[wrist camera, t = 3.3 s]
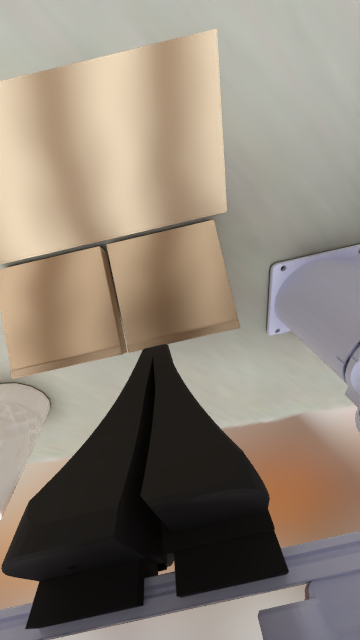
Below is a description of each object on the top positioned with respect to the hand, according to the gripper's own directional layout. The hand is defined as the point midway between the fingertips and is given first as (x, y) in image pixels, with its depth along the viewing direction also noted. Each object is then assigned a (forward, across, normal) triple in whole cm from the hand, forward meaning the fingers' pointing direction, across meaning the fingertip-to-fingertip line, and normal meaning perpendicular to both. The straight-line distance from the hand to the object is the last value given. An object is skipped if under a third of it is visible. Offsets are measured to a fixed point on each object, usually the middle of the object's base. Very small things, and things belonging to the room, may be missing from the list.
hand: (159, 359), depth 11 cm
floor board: (+8, +2, -10) cm, 13 cm away
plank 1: (+6, +7, -2) cm, 9 cm away
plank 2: (+6, -2, -2) cm, 6 cm away
